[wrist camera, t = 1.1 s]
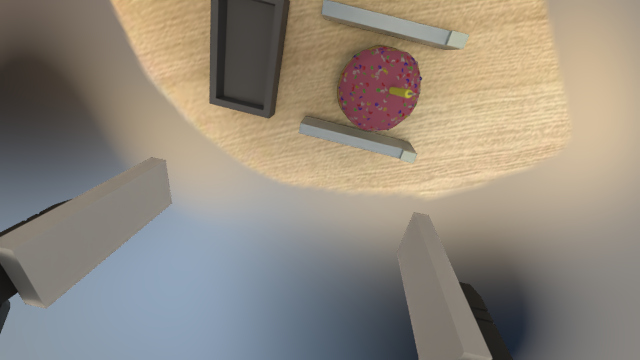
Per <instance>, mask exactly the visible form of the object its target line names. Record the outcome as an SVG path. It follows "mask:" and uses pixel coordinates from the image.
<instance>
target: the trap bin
mask: <svg viewBox="0 0 640 360" xmlns="http://www.w3.org/2000/svg"><path fill="white" fill-rule="evenodd" d="M289 3H290V1H289V0H211V30H210V102H209V103H210V104H214V105H218V106H222V107H226V108H230V109H234V110H238V111H242V112H246V113H250V114H254V115H258V116H262V117H266V118H270V117H271V116H273V115H274V113H275V106H276V98H277V91H278V83H279V76H280V69H281V61H282V54H283V47H284V39H285V32H286V25H287V17H288V10H289Z"/></svg>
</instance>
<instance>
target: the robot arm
mask: <svg viewBox="0 0 640 360" xmlns="http://www.w3.org/2000/svg"><path fill="white" fill-rule="evenodd" d="M170 204H172V201H171V193H170V186H169V179H168V173H167V166H166V160H163V159H158V158H153V157H151V158H149V159H147V160H145V161H144V162H142V163H140V164H138V165H136V166H134V167H132V168H130V169H128V170H126V171H125V172H123V173H121V174H119V175H117V176H115V177H113V178H111V179H110V180H108V181H106V182H104V183H102V184H100V185H98V186H96V187H95V188H92V189H91V190H89V191H87V192H85V193H83V194H81V195H79V196H77V197H75V198H73V199H70V200H67V201H64V202H61V203H58V204H55V205H53V206H51V207H49V208H47V209H45V210H43V211H41V212H40V213H39V214H35V215H33V216H31V217H30V218H28V219H27V220H26V221H22V222H20V223H18V224H16V225H14V226H12V227H10V228H8V229H6V230H4V231H2V232H0V333H1V330H2V328H3V325H4V322H5V320H6V317H7V314H8V312H9V310H10V302H9V300H8V299H9V298H10V297H12V296H13V295H15V294H16V293H17V292H18V293H19V295H20V296H21V298H22V300H23V301H24V303H25V304H28V305H33V306H37V307H41V308H47V307H49V306H50V305H51V304H52V303H53V302H55V301H56V300H57V299H58V298H59V297H61V296H62V295H63V294H64V293H65V292H67V291H68V290H69V289H70V288H71V287H72V286H74V285H75V284H76V283H77V282H79V281H80V280H81V279H82V278H83V277H85V276H86V275H87V274H88V273H89V272H91V271H92V270H93V269H94V268H95V267H96V266H98V265H99V264H100V263H101V262H102V261H103V260H105V259H106V258H107V257H108V256H110V255H111V254H112V253H113V252H114V251H116V250H117V249H118V248H119V247H120V246H121V245H122V244H124V243H125V242H126V241H128V240H129V239H130V238H131V237H132V236H133V235H135V234H136V233H137V232H138V231H139V230H141V229H142V228H143V227H144V226H145V225H147V224H148V223H149V222H150V221H151V220H153V219H154V218H155V217H156V216H157V215H159V214H160V213H161V212H162V211H163V210H165V209H166V208H167V207H168V206H169V205H170ZM397 254H398V259H399V264H400V269H401V274H402V279H403V284H404V289H405V293H406V298H407V303H408V308H409V313H410V317H411V322H412V327H413V332H414V337H415V342H416V346H417V351H418V356H419V360H513V359H512V357H511V355H510V353H509V351H508V349H507V347H506V345H505V344H504V341H503V339H502V337H501V336H500V334H499V332H498V330H497V328H496V326H495V324H493V320H492V318H491V316H490V314H489V313H488V312H487V308H486V306H485V304H484V302H483V300H482V298H481V296H480V295H479V294H478V293H477V292H476V291H475V290H474V288H473V287H472V286H471V285H470V284H465V283H461V282H458V280H457V278H456V276H455V273H454V271H453V269H452V266H451V264H450V262H449V260H448V257H447V255H446V253H445V251H444V248H443V246H442V244H441V242H440V239H439V237H438V235H437V233H436V230H435V228H434V226H433V224H432V221H431V219H430V217H429V215H425V214H420V213H415V212H414V213H413V215H412V218H411V220H410V222H409V225H408V227H407V229H406V232H405V234H404V237H403V239H402V241H401V243H400V246H399V248H398V250H397Z"/></svg>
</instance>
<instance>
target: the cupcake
mask: <svg viewBox="0 0 640 360" xmlns="http://www.w3.org/2000/svg"><path fill="white" fill-rule="evenodd" d="M417 64H418V62H417V61H415V60H414V58H413V57H412V56H411V55H410V54H409V53H407V52H402V51H399V50H398V49H395V48H392V47H387V46H374V47H371V48H369V49H366V50H363V51H362V52H360V53H358V54H356V55H355V56H354V57H353V58H352V59H351V60H350V61H349V62H348V64H347V65H346V66H345V68H344V69H343V71H342V73H341V75H340V79H339V83H338V88H337V96H338V101H339V105H340V107H341V109H342V111H343V112H344V113H345V115H346V116H347V117H348V119H349V120H350V121H351V122H352V123H353V124H354V125H356V126H357V127H358V128H360V129H362V130H368V131H375V132H377V131H379V130H389V129H391V128H393V127H394V126H396V125H397V124H399V123H400V122H401V121H403V120H404V119H405V118H406V117H408V116H410V113H411V112H412V111H413V109H414V107H415V106H416V104H417V101H418V97H419V94H420V80H422V78H421V77H420V72H419V68H418V65H417ZM420 78H421V79H420Z"/></svg>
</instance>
